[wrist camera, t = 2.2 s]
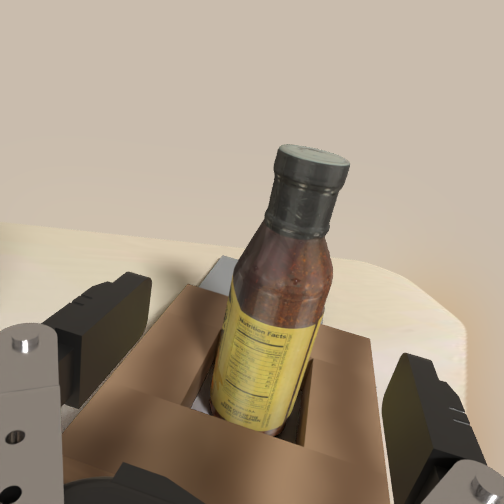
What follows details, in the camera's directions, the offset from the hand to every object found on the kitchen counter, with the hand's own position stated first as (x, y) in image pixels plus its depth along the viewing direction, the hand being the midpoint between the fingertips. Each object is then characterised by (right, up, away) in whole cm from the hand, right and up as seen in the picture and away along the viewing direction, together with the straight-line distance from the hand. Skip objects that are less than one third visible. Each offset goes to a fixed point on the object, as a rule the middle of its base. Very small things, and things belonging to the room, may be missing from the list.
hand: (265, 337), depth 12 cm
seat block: (-1, -10, +17) cm, 20 cm away
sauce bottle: (-1, -10, +17) cm, 20 cm away
